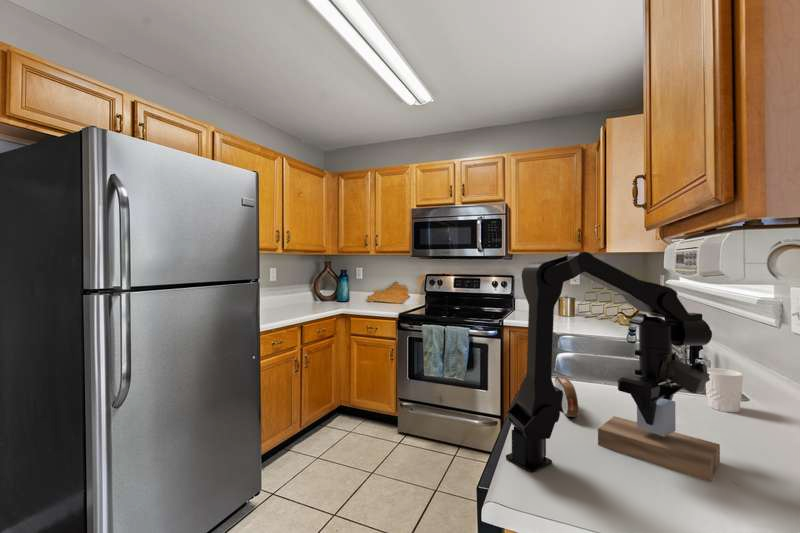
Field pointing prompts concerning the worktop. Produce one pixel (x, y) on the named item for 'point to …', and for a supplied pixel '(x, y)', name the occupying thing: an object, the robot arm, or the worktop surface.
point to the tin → (567, 396)
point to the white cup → (724, 389)
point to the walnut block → (661, 448)
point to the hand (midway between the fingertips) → (655, 421)
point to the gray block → (660, 418)
